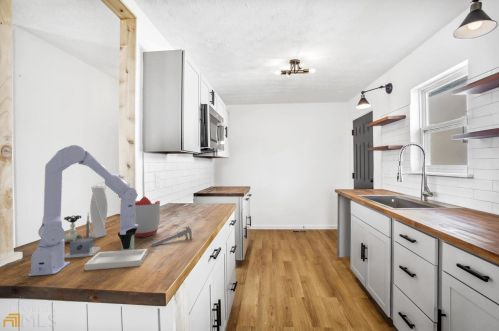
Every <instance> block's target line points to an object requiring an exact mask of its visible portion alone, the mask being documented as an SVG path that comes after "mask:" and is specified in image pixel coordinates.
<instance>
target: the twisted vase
mask: <svg viewBox="0 0 499 331" xmlns="http://www.w3.org/2000/svg"><path fill="white" fill-rule="evenodd" d="M102 184H105V181H101V182H98V183H96V184H95V185H93V186H91V192H92V195H91V199H90V205H89V207H90V209H89V210H90V212H87V216H86V217H87V219H86V230H85V232H86V235H85V238H86V239H88V238H95V239H99V238H102V237H107V236H108V234H107V231H106V228H105V225H106V221H107V215H108V199H107V195H106V189H107V187H108V186H107V185H105V186H103V185H102ZM89 213H90V214H89ZM89 215H90V216H89ZM90 220H91V221H90ZM91 225H92V231H91Z"/></svg>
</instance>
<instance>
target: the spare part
mask: <svg viewBox="0 0 499 331" xmlns="http://www.w3.org/2000/svg"><path fill="white" fill-rule="evenodd" d="M120 244H121V247H120V251H123V250H135V236H134V235H132V237H131V241H130V247H129V249H123V246H122V242H121V241H120Z"/></svg>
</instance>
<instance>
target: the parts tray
mask: <svg viewBox="0 0 499 331" xmlns="http://www.w3.org/2000/svg"><path fill="white" fill-rule="evenodd" d="M147 255H148V248H142V249H141V248H140V249H133V250H123V251H121V250H113V251H112V250H109V251H98V252H97V253H95V254H94V255H93V256H92V257H91V258H90V259H89V260H88V261H87V262H85V263H84V271H93V270H104V269H116V268H118V269H119V268H128V267H139V266H142V264H143V262H144V260H145V258H146V257H147Z"/></svg>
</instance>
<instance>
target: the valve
mask: <svg viewBox="0 0 499 331" xmlns="http://www.w3.org/2000/svg"><path fill="white" fill-rule="evenodd" d="M79 219H82V215H71V216H70V215H69V216H65V217H63V220H65V221H67V222H69V223H71V224H70V225H69V226H70V229H69V230H68V233H65V236H64V238H63V239H64V242H69V243H70V242H72V241H74V240H76V239H83V238H82V234H81V233H77V231H78V229H76V222H77V221H78V220H79Z"/></svg>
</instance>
